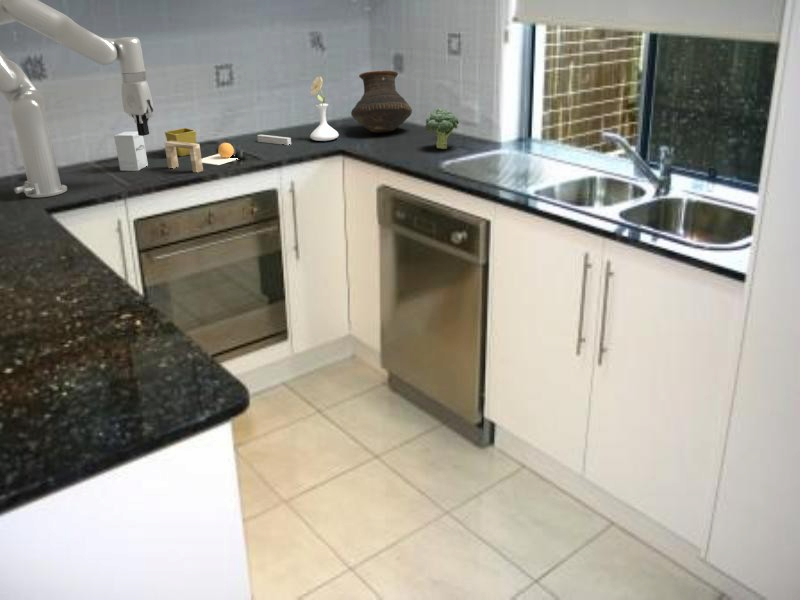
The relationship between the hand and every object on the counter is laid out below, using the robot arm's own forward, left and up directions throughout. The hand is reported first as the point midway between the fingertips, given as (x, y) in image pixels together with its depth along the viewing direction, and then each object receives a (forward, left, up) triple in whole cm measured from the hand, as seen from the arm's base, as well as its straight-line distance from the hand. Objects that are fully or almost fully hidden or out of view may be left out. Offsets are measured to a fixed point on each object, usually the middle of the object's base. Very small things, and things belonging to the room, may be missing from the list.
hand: (143, 134), depth 258 cm
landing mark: (+31, 0, -15) cm, 34 cm away
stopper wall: (+61, 0, -15) cm, 63 cm away
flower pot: (+31, +19, -15) cm, 39 cm away
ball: (+34, -1, -12) cm, 36 cm away
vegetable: (+79, -67, -15) cm, 105 cm away
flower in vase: (+73, -16, -15) cm, 76 cm away
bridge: (+15, 0, -15) cm, 21 cm away
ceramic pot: (+93, -30, -15) cm, 99 cm away
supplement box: (+8, +19, -15) cm, 26 cm away
